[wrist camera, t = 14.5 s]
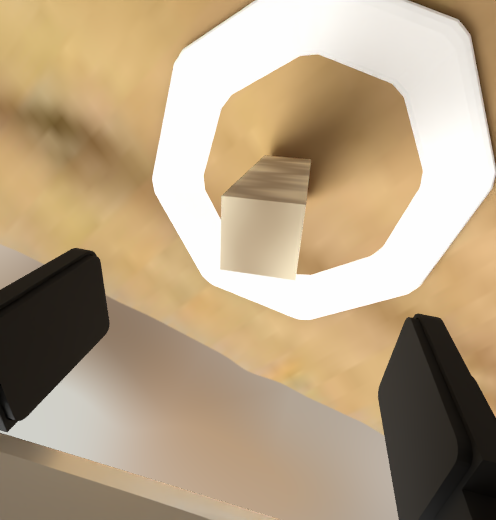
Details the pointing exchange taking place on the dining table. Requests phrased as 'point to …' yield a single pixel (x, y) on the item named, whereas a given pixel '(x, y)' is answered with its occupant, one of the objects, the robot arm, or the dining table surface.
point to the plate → (360, 58)
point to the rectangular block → (265, 218)
